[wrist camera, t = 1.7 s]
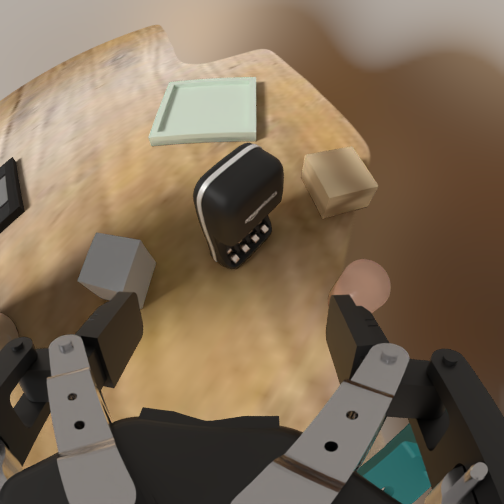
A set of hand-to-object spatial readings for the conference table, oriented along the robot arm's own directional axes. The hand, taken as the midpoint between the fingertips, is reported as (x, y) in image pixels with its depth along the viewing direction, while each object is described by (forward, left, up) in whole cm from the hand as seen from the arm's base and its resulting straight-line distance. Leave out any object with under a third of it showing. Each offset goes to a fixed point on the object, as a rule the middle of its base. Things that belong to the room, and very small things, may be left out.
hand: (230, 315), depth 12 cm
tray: (-6, +33, -15) cm, 37 cm away
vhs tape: (-39, +20, -16) cm, 47 cm away
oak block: (+10, +18, -15) cm, 26 cm away
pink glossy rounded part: (+10, +5, -15) cm, 19 cm away
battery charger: (0, +11, -15) cm, 19 cm away
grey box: (-12, +7, -15) cm, 21 cm away
